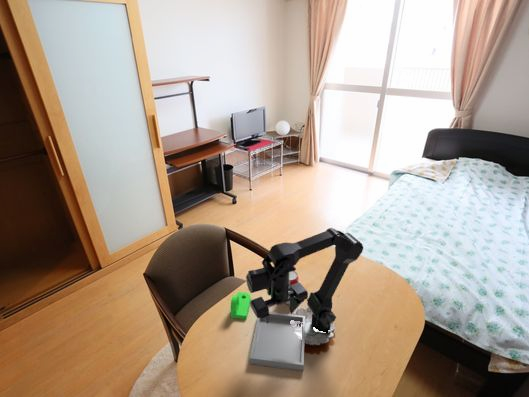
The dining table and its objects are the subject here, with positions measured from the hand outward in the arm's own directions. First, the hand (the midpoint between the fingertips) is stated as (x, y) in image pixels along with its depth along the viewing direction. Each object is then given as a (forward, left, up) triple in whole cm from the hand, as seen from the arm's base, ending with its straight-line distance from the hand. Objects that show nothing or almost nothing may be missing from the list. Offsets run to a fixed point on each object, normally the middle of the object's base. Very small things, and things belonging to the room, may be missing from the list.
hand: (279, 317), depth 99 cm
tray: (0, 0, -12) cm, 12 cm away
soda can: (-2, -21, -12) cm, 24 cm away
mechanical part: (+16, -14, -12) cm, 25 cm away
